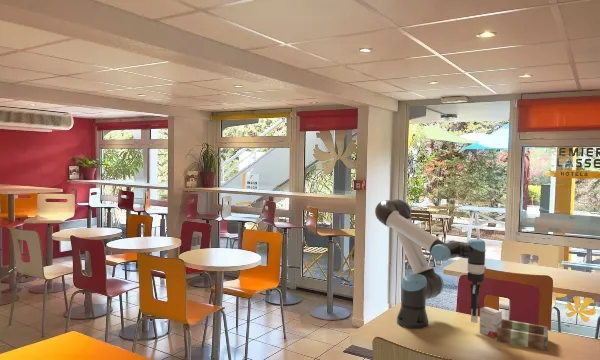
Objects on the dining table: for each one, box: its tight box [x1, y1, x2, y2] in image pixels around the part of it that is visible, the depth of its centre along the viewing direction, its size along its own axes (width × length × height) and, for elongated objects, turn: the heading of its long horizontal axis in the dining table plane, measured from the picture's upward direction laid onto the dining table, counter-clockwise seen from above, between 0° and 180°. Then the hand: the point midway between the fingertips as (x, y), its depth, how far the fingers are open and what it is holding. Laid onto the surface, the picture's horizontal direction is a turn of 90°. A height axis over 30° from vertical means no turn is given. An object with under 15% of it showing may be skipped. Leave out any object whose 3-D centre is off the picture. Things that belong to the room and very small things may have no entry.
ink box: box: [479, 306, 503, 339], centre depth 215 cm, size 9×5×12 cm, turn 33°
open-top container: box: [496, 318, 549, 352], centre depth 209 cm, size 20×15×6 cm
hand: (474, 321), depth 219 cm, fingers closed
